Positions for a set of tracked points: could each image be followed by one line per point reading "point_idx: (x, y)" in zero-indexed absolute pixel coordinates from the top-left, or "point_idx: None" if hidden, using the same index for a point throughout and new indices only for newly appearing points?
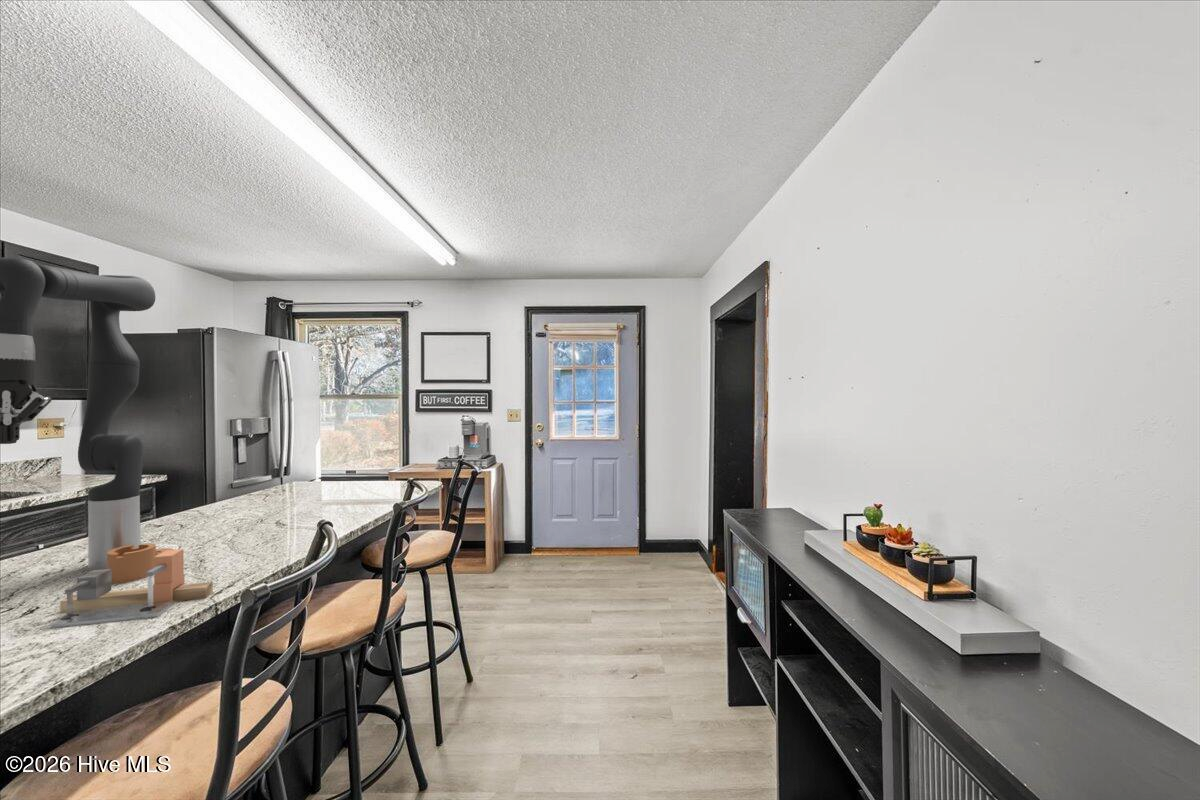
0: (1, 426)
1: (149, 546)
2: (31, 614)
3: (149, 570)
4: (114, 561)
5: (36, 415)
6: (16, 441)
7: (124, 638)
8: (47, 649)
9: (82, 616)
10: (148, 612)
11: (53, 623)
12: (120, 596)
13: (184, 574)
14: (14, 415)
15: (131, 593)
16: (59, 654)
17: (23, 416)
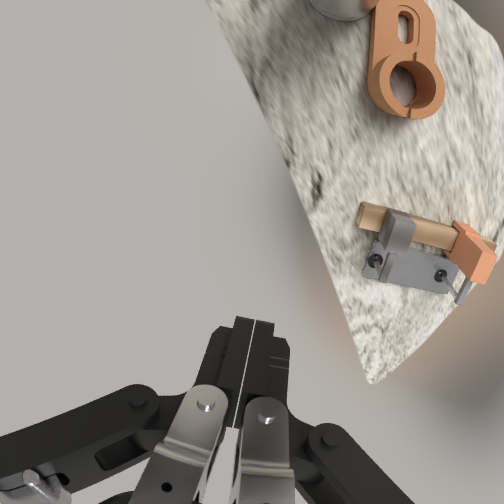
0: (230, 423)
1: (437, 86)
2: (323, 203)
3: (459, 297)
4: (394, 112)
5: (370, 460)
6: (273, 323)
7: (422, 324)
8: (371, 319)
9: None
10: (441, 287)
11: (364, 273)
12: (418, 241)
13: (480, 236)
14: (251, 456)
15: (428, 241)
16: (382, 333)
17: (325, 486)
